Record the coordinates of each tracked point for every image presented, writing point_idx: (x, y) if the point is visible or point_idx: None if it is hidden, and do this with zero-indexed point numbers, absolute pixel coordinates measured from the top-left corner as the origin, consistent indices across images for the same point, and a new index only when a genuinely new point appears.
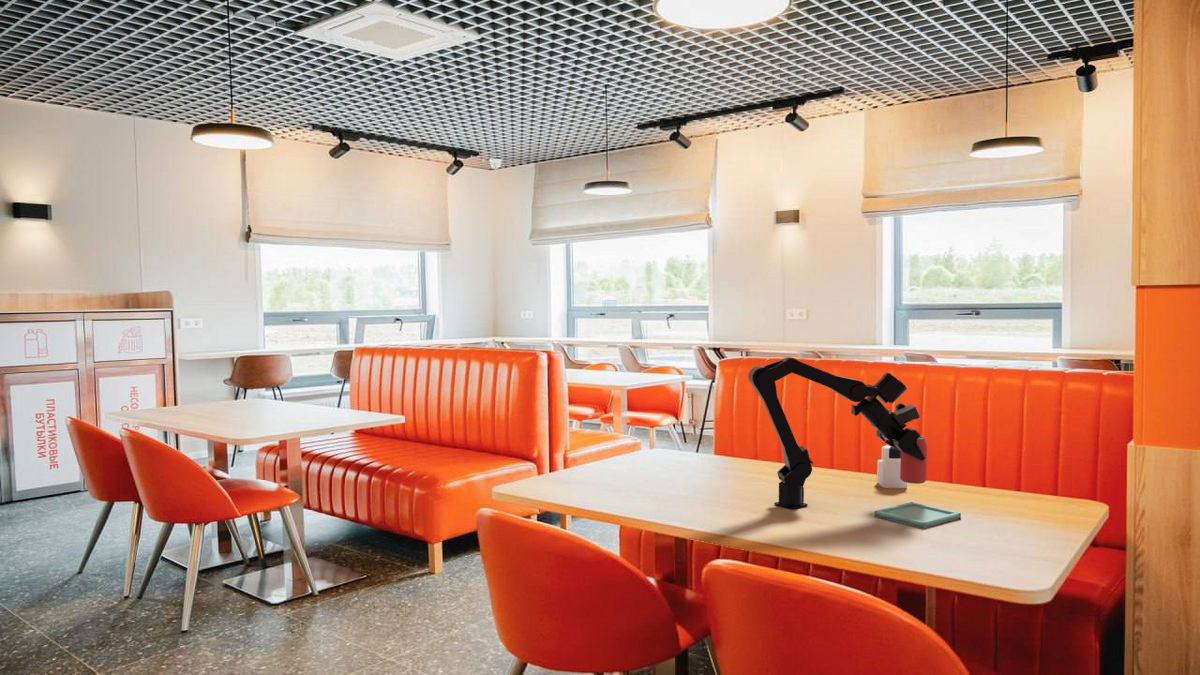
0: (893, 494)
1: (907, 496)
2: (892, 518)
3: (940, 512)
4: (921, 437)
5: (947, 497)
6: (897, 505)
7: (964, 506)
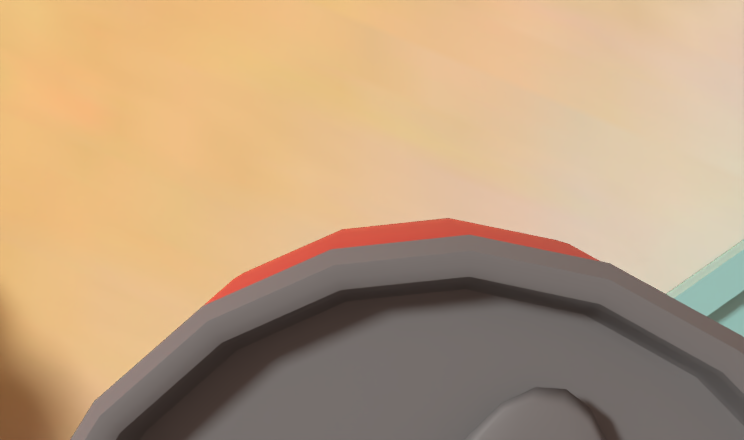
0: (32, 411)
1: (109, 321)
2: None
3: (740, 310)
4: (314, 309)
5: (167, 30)
6: None
7: (440, 21)
